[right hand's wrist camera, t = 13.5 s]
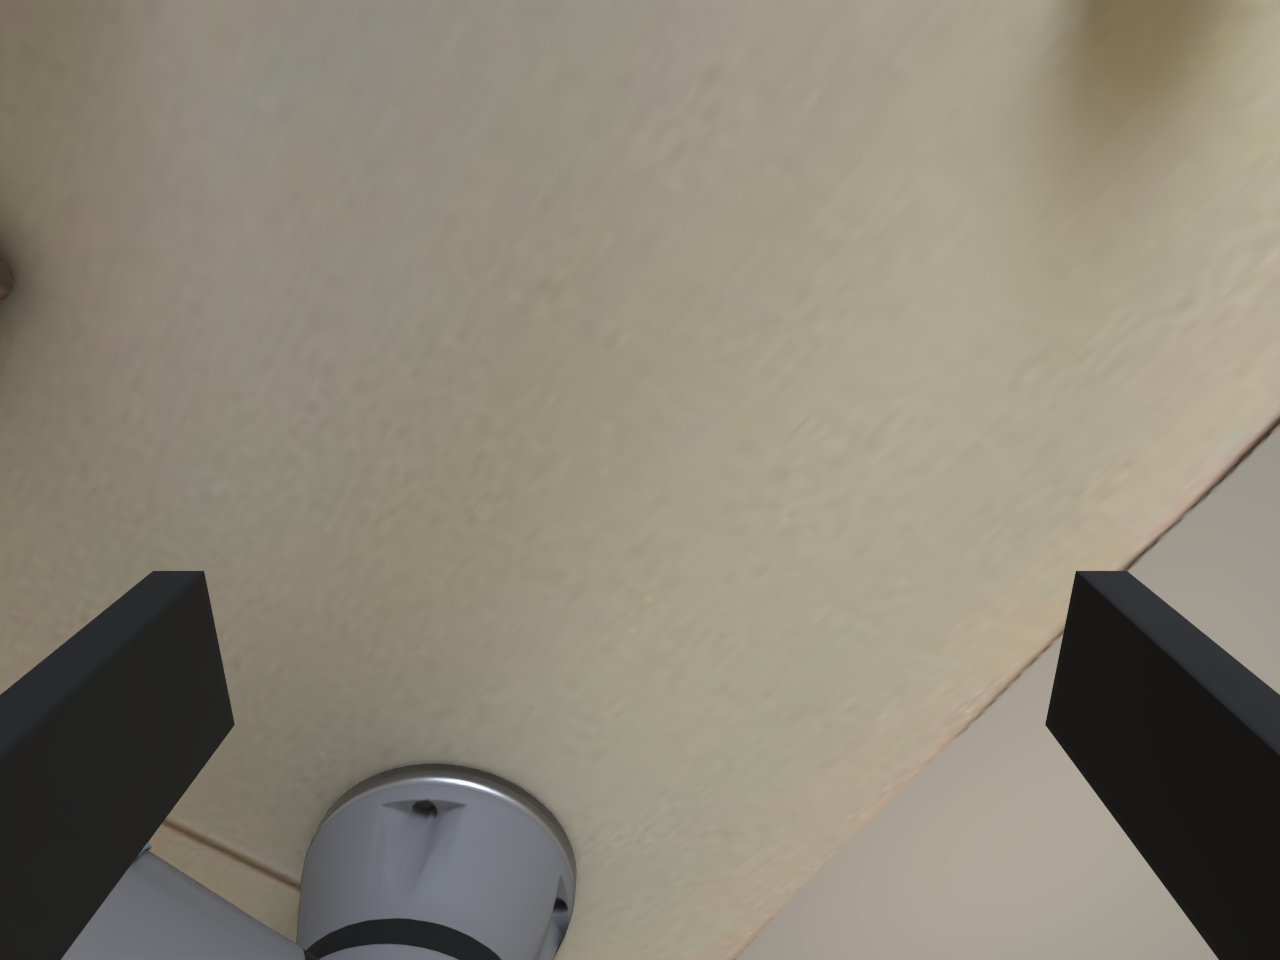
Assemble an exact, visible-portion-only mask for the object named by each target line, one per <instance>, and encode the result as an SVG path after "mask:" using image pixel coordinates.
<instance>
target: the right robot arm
mask: <svg viewBox="0 0 1280 960" xmlns="http://www.w3.org/2000/svg"><path fill="white" fill-rule="evenodd" d="M234 725H235V724H234V719H233V714H232V709H231V704H230V699H229V694H228V689H227V684H226V679H225V674H224V669H223V664H222V659H221V654H220V649H219V644H218V639H217V634H216V629H215V624H214V619H213V614H212V609H211V604H210V599H209V594H208V589H207V584H206V579H205V574H204V571H153V572H151V573H150V574H149V575H148V576H146V577H145V578H144V579H143V580H142V581H140V582H139V583H138V584H137V585H135V586H134V587H133V588H132V589H130V590H129V591H128V592H127V593H125V594H124V595H123V596H122V597H121V598H119V599H118V600H117V601H116V602H114V603H113V604H112V605H111V606H109V607H108V608H107V609H106V610H105V611H103V612H102V613H101V614H100V615H98V616H97V617H96V618H95V619H93V620H92V621H91V622H90V623H89V624H87V625H86V626H85V627H84V628H82V629H81V630H80V631H79V632H77V633H76V634H75V635H74V636H73V637H71V638H70V639H69V640H68V641H66V642H65V643H64V644H63V645H61V646H60V647H59V648H58V649H56V650H55V651H54V652H53V653H52V654H50V655H49V656H48V657H47V658H45V659H44V660H43V661H42V662H40V663H39V664H38V665H37V666H36V667H34V668H33V669H32V670H31V671H29V672H28V673H27V674H26V675H24V676H23V677H22V678H21V679H20V680H18V681H17V682H16V683H15V684H13V685H12V686H11V687H10V688H8V689H7V690H6V691H5V692H3V693H2V694H1V695H0V960H553V959H554V957H555V955H556V953H557V951H558V949H559V947H560V945H561V943H562V941H563V939H564V937H565V934H566V931H567V929H568V926H569V923H570V920H571V917H572V913H573V907H574V899H575V888H576V863H575V858H574V854H573V850H572V847H571V845H570V842H569V840H568V838H567V836H566V834H565V832H564V830H563V829H562V827H561V825H560V824H559V822H558V821H557V820H556V819H555V817H554V816H553V815H552V814H551V812H550V811H549V810H548V809H547V808H546V807H545V806H544V805H543V804H541V803H540V802H539V801H538V800H537V799H536V798H534V797H533V796H532V795H530V794H529V793H527V792H526V791H525V790H523V789H521V788H520V787H518V786H516V785H515V784H513V783H511V782H509V781H507V780H505V779H502V778H500V777H498V776H495V775H492V774H490V773H487V772H483V771H480V770H476V769H472V768H467V767H462V766H455V765H444V764H424V765H413V766H406V767H401V768H396V769H392V770H389V771H386V772H383V773H380V774H377V775H375V776H373V777H370V778H368V779H366V780H364V781H363V782H361V783H359V784H357V785H356V786H354V787H353V788H351V789H350V790H349V791H347V792H346V793H345V794H344V795H342V796H341V797H340V798H339V799H338V800H337V801H336V802H335V803H334V804H333V806H332V807H331V808H330V809H329V811H328V812H327V813H326V815H325V817H324V818H323V820H322V822H321V824H320V826H319V828H318V830H317V832H316V834H315V836H314V838H313V840H312V842H311V844H310V847H309V849H308V851H307V854H306V858H305V861H304V867H303V872H302V877H301V888H300V902H299V913H298V927H297V940H296V943H294V942H292V941H291V940H289V939H287V938H286V937H284V936H282V935H281V934H279V933H277V932H276V931H274V930H272V929H271V928H269V927H267V926H266V925H264V924H263V923H261V922H260V921H258V920H256V919H255V918H253V917H252V916H250V915H249V914H247V913H245V912H244V911H242V910H241V909H239V908H238V907H236V906H235V905H233V904H231V903H230V902H228V901H227V900H225V899H224V898H222V897H220V896H219V895H217V894H216V893H214V892H213V891H211V890H209V889H208V888H206V887H205V886H203V885H202V884H200V883H199V882H197V881H195V880H194V879H192V878H191V877H189V876H188V875H186V874H184V873H183V872H181V871H180V870H178V869H177V868H175V867H173V866H172V865H170V864H169V863H167V862H166V861H164V860H163V859H161V858H159V857H158V856H156V855H155V854H153V853H152V852H150V851H148V850H149V849H151V847H152V846H151V845H150V844H149V843H148V841H149V840H150V838H151V837H152V836H153V834H154V833H155V832H156V830H157V829H158V828H159V826H160V825H161V824H162V822H163V821H164V820H165V818H166V817H167V815H168V814H169V813H170V811H171V810H172V809H173V807H174V806H175V805H176V803H177V802H178V801H179V799H180V798H181V797H182V795H183V794H184V792H185V791H186V790H187V788H188V787H189V786H190V784H191V783H192V782H193V780H194V779H195V778H196V776H197V775H198V774H199V772H200V771H201V769H202V768H203V767H204V765H205V764H206V763H207V761H208V760H209V759H210V757H211V756H212V755H213V753H214V752H215V751H216V749H217V748H218V746H219V745H220V744H221V742H222V741H223V740H224V738H225V737H226V736H227V734H228V733H229V732H230V730H231V729H232V728H233V726H234ZM1046 726H1047V727H1048V729H1049V730H1050V732H1051V733H1052V734H1053V736H1054V737H1055V738H1056V740H1057V741H1058V742H1059V744H1060V745H1061V746H1062V748H1063V749H1064V751H1065V752H1066V753H1067V755H1068V756H1069V757H1070V759H1071V760H1072V761H1073V763H1074V764H1075V765H1076V767H1077V768H1078V769H1079V771H1080V772H1081V774H1082V775H1083V776H1084V778H1085V779H1086V780H1087V782H1088V783H1089V784H1090V786H1091V787H1092V788H1093V790H1094V791H1095V792H1096V794H1097V795H1098V797H1099V798H1100V799H1101V801H1102V802H1103V803H1104V805H1105V806H1106V807H1107V809H1108V810H1109V811H1110V813H1111V814H1112V815H1113V817H1114V818H1115V820H1116V821H1117V822H1118V824H1119V825H1120V826H1121V828H1122V829H1123V830H1124V832H1125V833H1126V834H1127V836H1128V837H1129V838H1130V840H1131V841H1132V843H1133V844H1134V845H1135V847H1136V848H1137V849H1138V851H1139V852H1140V853H1141V855H1142V856H1143V857H1144V859H1145V860H1146V861H1147V863H1148V864H1149V866H1150V867H1151V868H1152V870H1153V871H1154V872H1155V874H1156V875H1157V876H1158V878H1159V879H1160V880H1161V882H1162V883H1163V885H1164V886H1165V887H1166V889H1167V890H1168V891H1169V893H1170V894H1171V895H1172V897H1173V898H1174V899H1175V901H1176V902H1177V903H1178V905H1179V906H1180V907H1181V909H1182V910H1183V912H1184V913H1185V914H1186V916H1187V917H1188V918H1189V920H1190V921H1191V922H1192V924H1193V925H1194V926H1195V928H1196V929H1197V930H1198V932H1199V933H1200V934H1201V936H1202V937H1203V939H1204V940H1205V941H1206V943H1207V944H1208V945H1209V947H1210V948H1211V949H1212V951H1213V952H1214V954H1215V955H1216V956H1217V958H1218V959H1219V960H1280V695H1279V694H1278V693H1277V692H1275V691H1274V690H1273V689H1272V688H1270V687H1269V686H1268V685H1267V684H1265V683H1264V682H1263V681H1262V680H1260V679H1259V678H1258V677H1257V676H1255V675H1254V674H1253V673H1252V672H1251V671H1249V670H1248V669H1247V668H1246V667H1244V666H1243V665H1242V664H1241V663H1240V662H1238V661H1237V660H1236V659H1235V658H1233V657H1232V656H1231V655H1230V654H1228V653H1227V652H1226V651H1225V650H1224V649H1222V648H1221V647H1220V646H1219V645H1217V644H1216V643H1215V642H1214V641H1212V640H1211V639H1210V638H1209V637H1207V636H1206V635H1205V634H1204V633H1202V632H1201V631H1200V630H1199V629H1198V628H1196V627H1195V626H1194V625H1193V624H1191V623H1190V622H1189V621H1188V620H1187V619H1185V618H1184V617H1183V616H1182V615H1180V614H1179V613H1178V612H1177V611H1175V610H1174V609H1173V608H1172V607H1171V606H1169V605H1168V604H1167V603H1166V602H1164V601H1163V600H1162V599H1161V598H1159V597H1158V596H1157V595H1156V594H1154V593H1153V592H1152V591H1151V590H1150V589H1148V588H1147V587H1146V586H1145V585H1143V584H1142V583H1141V582H1140V581H1138V580H1137V579H1136V578H1135V577H1133V576H1132V575H1131V574H1130V573H1129V572H1127V571H1076V574H1075V579H1074V584H1073V589H1072V594H1071V599H1070V604H1069V609H1068V614H1067V619H1066V624H1065V629H1064V634H1063V639H1062V644H1061V649H1060V654H1059V659H1058V664H1057V669H1056V674H1055V679H1054V684H1053V689H1052V695H1051V699H1050V704H1049V709H1048V714H1047V720H1046ZM561 947H562V946H561ZM560 949H561V948H560ZM559 951H560V950H559ZM558 953H559V952H558ZM557 955H558V954H557ZM556 957H557V956H556ZM555 959H556V958H555Z"/></svg>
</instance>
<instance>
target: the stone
mask: <svg viewBox="0 0 1280 960" xmlns="http://www.w3.org/2000/svg"><path fill="white" fill-rule="evenodd" d="M12 280H13V278H12V273H11V269H10V268H9V267H8V266H7V265H6V264H5V263H4V262H3V261H1V260H0V300H1V299H4V298H6V297H7V295H8V293H9V292H10V290H11V288H12Z"/></svg>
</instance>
